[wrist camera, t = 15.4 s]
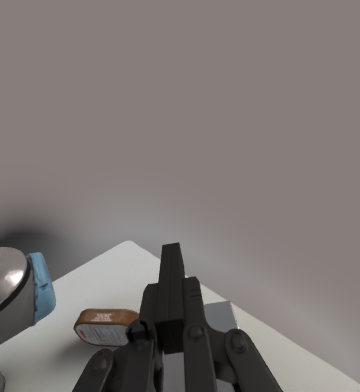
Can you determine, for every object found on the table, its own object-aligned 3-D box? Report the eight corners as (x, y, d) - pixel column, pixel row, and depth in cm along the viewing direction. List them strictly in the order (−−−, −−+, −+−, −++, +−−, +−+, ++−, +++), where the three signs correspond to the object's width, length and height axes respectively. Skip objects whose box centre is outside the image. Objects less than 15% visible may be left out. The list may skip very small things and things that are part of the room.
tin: (152, 333, 35) (143, 305, 32) (148, 352, 32) (137, 322, 29) (89, 332, 38) (75, 305, 35) (80, 348, 35) (64, 321, 32)
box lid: (155, 315, 25) (153, 311, 25) (230, 303, 25) (229, 300, 25) (138, 493, 13) (135, 491, 13) (285, 476, 13) (285, 473, 13)
